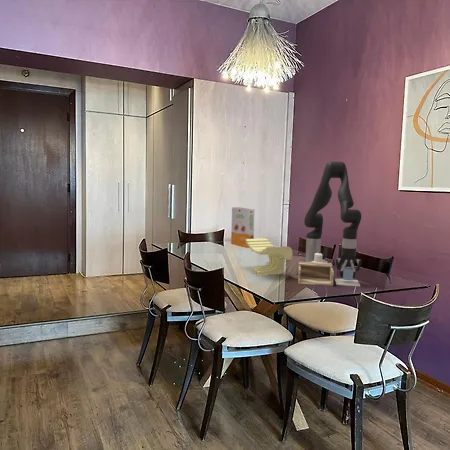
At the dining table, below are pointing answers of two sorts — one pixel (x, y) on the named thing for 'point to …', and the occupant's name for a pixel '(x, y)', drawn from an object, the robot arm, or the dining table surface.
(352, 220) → the robot arm
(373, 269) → the dining table surface
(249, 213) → the cereal box
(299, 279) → the cubby
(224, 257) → the dining table surface
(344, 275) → the block
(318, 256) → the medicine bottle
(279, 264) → the slatted curved stool
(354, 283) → the mat
